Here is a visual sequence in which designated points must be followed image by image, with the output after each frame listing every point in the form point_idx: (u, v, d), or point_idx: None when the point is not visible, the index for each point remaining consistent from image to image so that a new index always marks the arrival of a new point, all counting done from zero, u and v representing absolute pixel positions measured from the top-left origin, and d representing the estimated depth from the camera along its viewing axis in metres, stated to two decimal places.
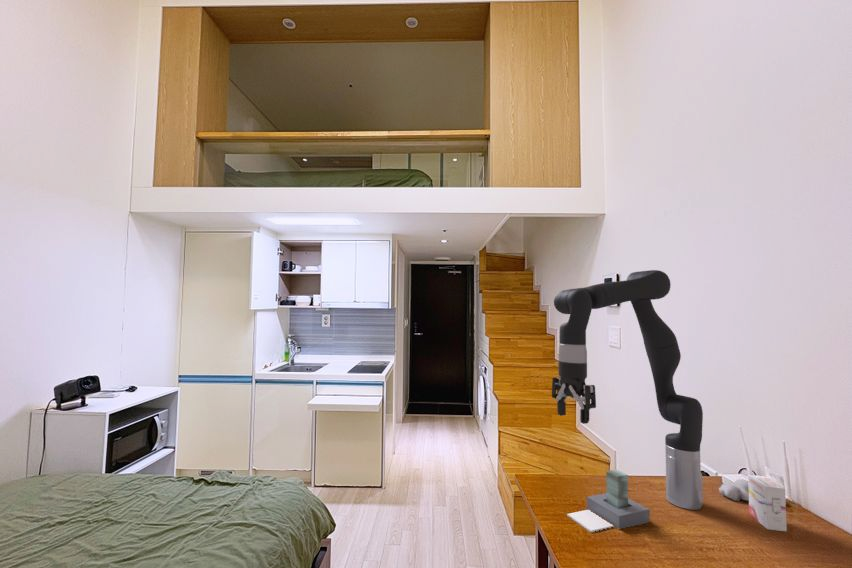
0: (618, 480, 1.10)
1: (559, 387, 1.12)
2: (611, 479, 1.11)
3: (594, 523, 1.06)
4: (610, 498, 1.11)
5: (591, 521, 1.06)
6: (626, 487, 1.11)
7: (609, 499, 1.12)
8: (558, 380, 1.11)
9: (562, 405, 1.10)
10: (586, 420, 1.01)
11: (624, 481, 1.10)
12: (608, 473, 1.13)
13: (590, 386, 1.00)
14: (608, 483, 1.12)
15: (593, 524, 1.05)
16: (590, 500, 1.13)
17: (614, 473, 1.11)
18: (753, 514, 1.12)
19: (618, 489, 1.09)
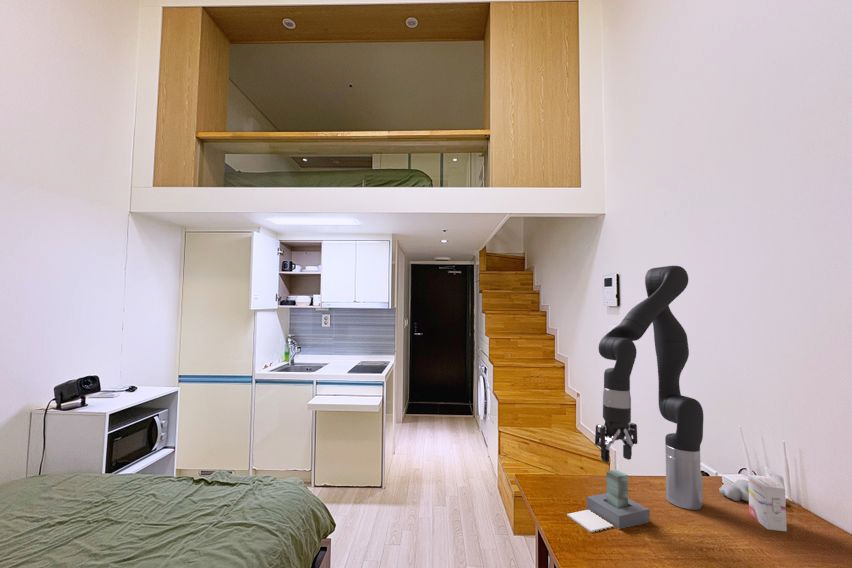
0: (618, 480, 1.10)
1: None
2: (611, 479, 1.11)
3: (594, 523, 1.06)
4: (610, 498, 1.11)
5: (591, 521, 1.06)
6: (626, 487, 1.11)
7: (609, 499, 1.12)
8: None
9: None
10: None
11: (624, 481, 1.10)
12: (608, 473, 1.13)
13: None
14: (608, 483, 1.12)
15: (593, 524, 1.05)
16: (590, 500, 1.13)
17: (614, 473, 1.11)
18: (753, 514, 1.12)
19: (618, 489, 1.09)
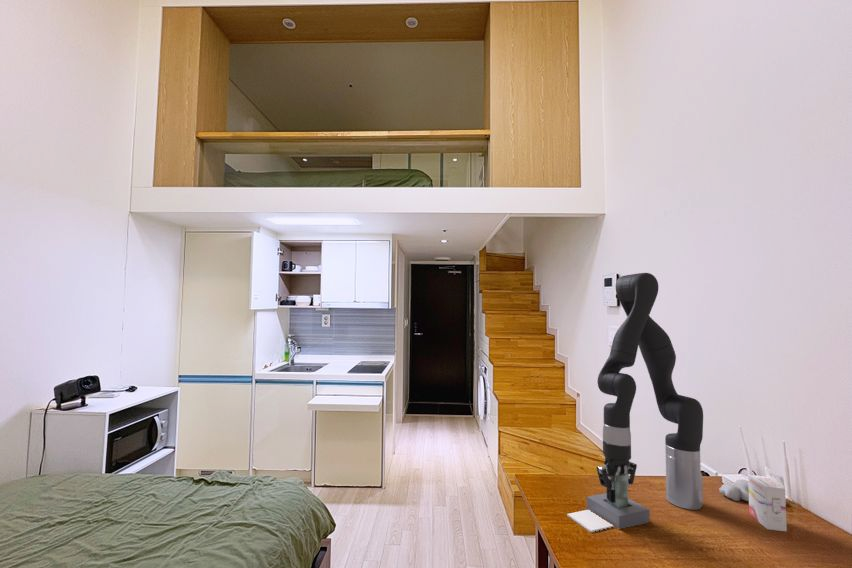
0: (618, 480, 1.10)
1: None
2: None
3: (594, 523, 1.06)
4: None
5: (591, 521, 1.06)
6: (626, 487, 1.11)
7: None
8: (605, 468, 1.10)
9: None
10: None
11: (624, 481, 1.10)
12: None
13: None
14: None
15: (593, 524, 1.05)
16: (590, 500, 1.13)
17: None
18: (753, 514, 1.12)
19: (618, 489, 1.09)
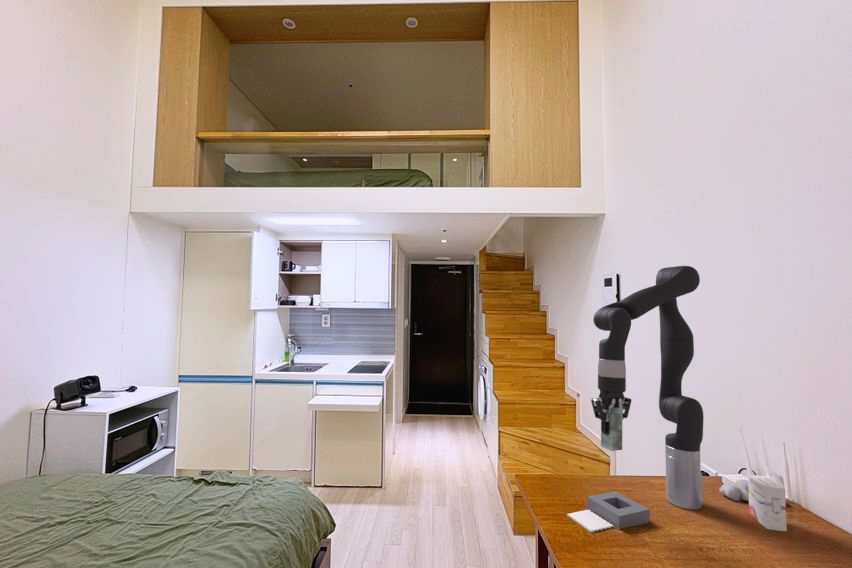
0: (612, 412, 1.10)
1: None
2: None
3: (594, 523, 1.06)
4: None
5: (591, 521, 1.06)
6: (620, 420, 1.11)
7: None
8: (599, 400, 1.11)
9: None
10: None
11: (618, 414, 1.11)
12: (603, 407, 1.13)
13: None
14: None
15: (593, 524, 1.05)
16: (590, 500, 1.13)
17: None
18: (753, 514, 1.12)
19: (612, 421, 1.10)
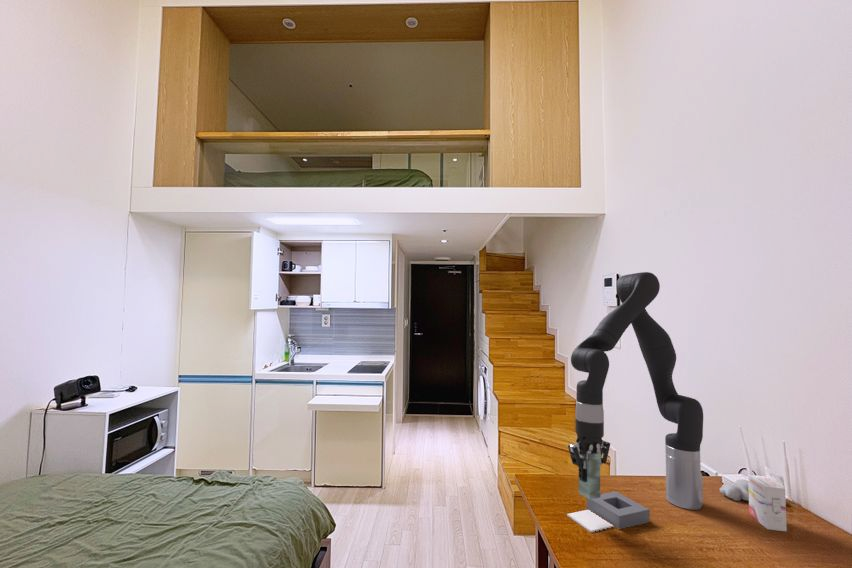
0: (590, 458, 1.06)
1: None
2: None
3: (594, 523, 1.06)
4: None
5: (591, 521, 1.06)
6: (598, 466, 1.07)
7: None
8: (576, 446, 1.07)
9: None
10: None
11: (596, 460, 1.07)
12: None
13: None
14: None
15: (593, 524, 1.05)
16: (590, 500, 1.13)
17: None
18: (753, 514, 1.12)
19: (590, 468, 1.06)
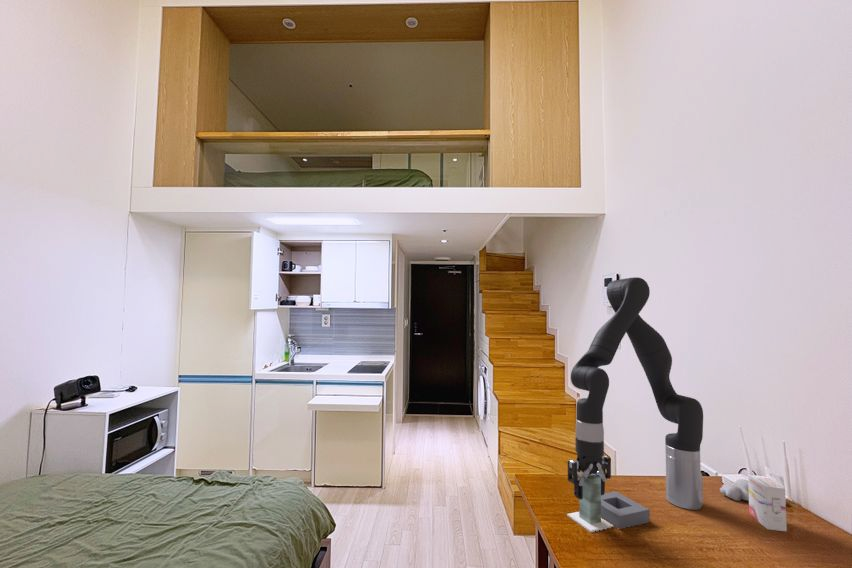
0: (590, 483, 1.06)
1: None
2: (584, 481, 1.08)
3: (594, 523, 1.06)
4: (583, 501, 1.08)
5: None
6: (599, 490, 1.07)
7: (582, 502, 1.08)
8: (576, 463, 1.06)
9: None
10: None
11: (597, 484, 1.07)
12: None
13: None
14: None
15: (593, 524, 1.05)
16: None
17: None
18: (753, 514, 1.12)
19: (590, 492, 1.06)
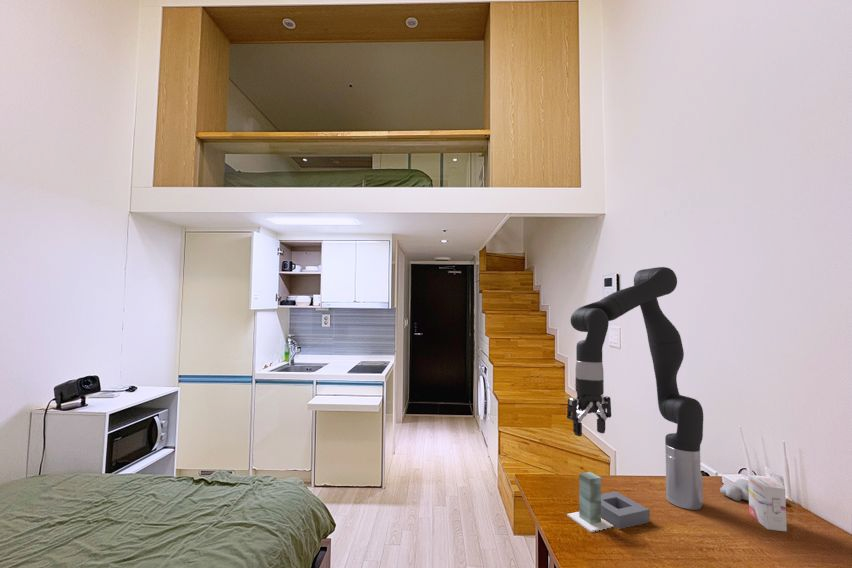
0: (590, 483, 1.06)
1: None
2: (584, 481, 1.08)
3: (594, 523, 1.06)
4: (583, 501, 1.08)
5: None
6: (599, 490, 1.07)
7: (582, 502, 1.08)
8: None
9: None
10: None
11: (597, 484, 1.07)
12: (581, 476, 1.09)
13: None
14: (581, 486, 1.09)
15: (593, 524, 1.05)
16: None
17: (586, 476, 1.08)
18: (753, 514, 1.12)
19: (590, 492, 1.06)
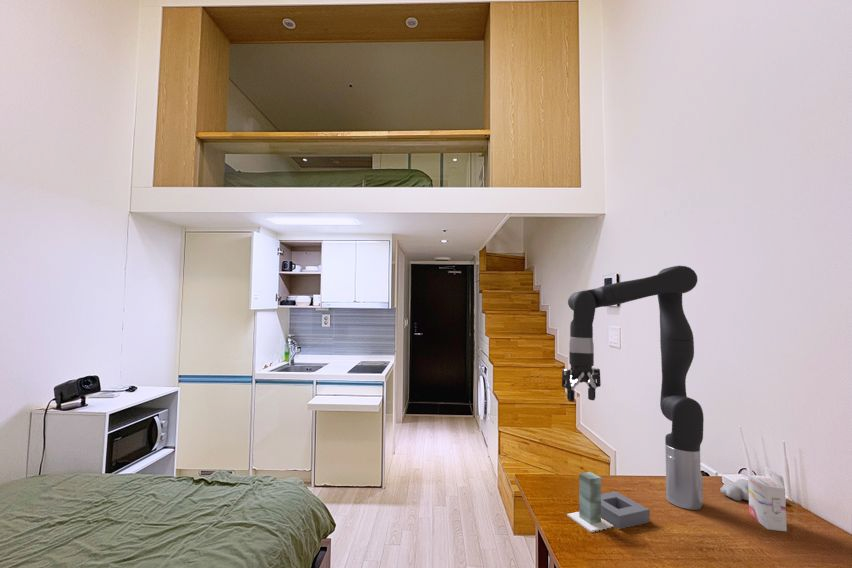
0: (590, 483, 1.06)
1: None
2: (584, 481, 1.08)
3: (594, 523, 1.06)
4: (583, 501, 1.08)
5: None
6: (599, 490, 1.07)
7: (582, 502, 1.08)
8: None
9: None
10: None
11: (597, 484, 1.07)
12: (581, 476, 1.09)
13: None
14: (581, 486, 1.09)
15: (593, 524, 1.05)
16: None
17: (586, 476, 1.08)
18: (753, 514, 1.12)
19: (590, 492, 1.06)
